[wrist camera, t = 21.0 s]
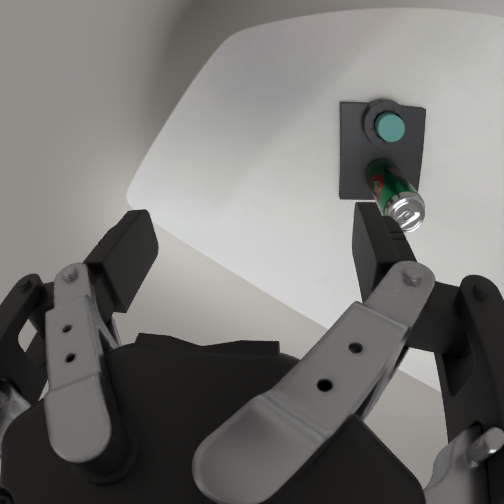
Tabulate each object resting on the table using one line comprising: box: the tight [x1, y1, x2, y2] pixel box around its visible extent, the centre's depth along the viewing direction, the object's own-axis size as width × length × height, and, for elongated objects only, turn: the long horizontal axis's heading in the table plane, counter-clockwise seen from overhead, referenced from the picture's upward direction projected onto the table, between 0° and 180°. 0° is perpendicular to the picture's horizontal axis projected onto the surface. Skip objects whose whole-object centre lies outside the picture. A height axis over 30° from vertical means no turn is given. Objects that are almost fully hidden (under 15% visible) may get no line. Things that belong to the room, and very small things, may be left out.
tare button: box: [375, 112, 405, 142], centre depth 34 cm, size 4×4×2 cm
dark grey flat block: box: [339, 99, 426, 200], centre depth 38 cm, size 15×12×3 cm
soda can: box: [365, 159, 425, 233], centre depth 35 cm, size 5×5×12 cm
